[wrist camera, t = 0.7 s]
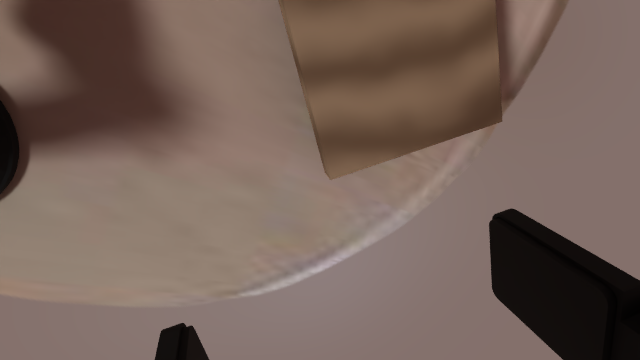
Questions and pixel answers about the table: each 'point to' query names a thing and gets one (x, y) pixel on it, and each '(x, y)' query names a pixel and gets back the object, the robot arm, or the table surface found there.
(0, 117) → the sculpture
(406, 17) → the walnut stool
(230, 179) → the table surface
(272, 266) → the table surface
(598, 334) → the robot arm
